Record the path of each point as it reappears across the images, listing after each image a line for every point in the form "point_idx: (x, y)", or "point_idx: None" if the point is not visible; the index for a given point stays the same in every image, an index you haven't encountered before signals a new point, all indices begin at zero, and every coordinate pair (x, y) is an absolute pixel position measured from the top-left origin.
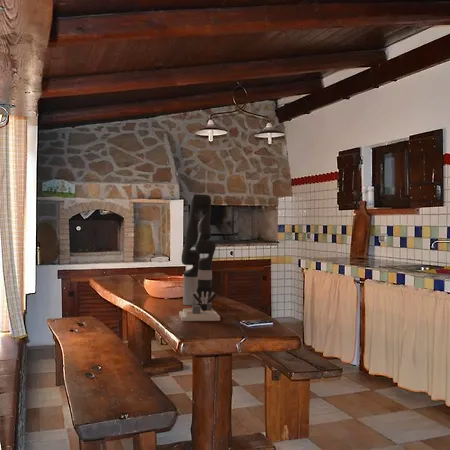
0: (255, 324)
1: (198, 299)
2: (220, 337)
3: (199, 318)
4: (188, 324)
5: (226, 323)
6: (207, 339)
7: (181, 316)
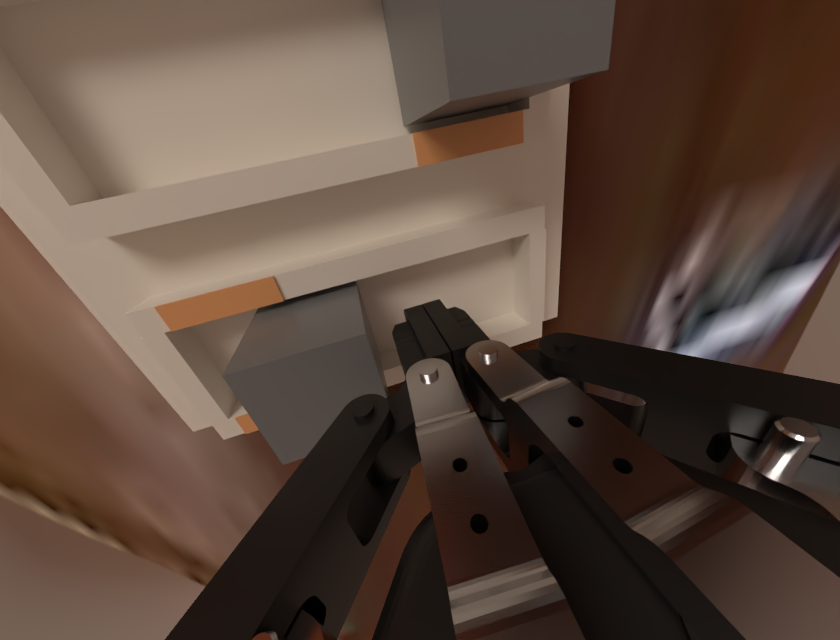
0: (709, 339)
1: (371, 532)
2: None
3: None
4: None
5: None
6: None
7: (157, 382)
